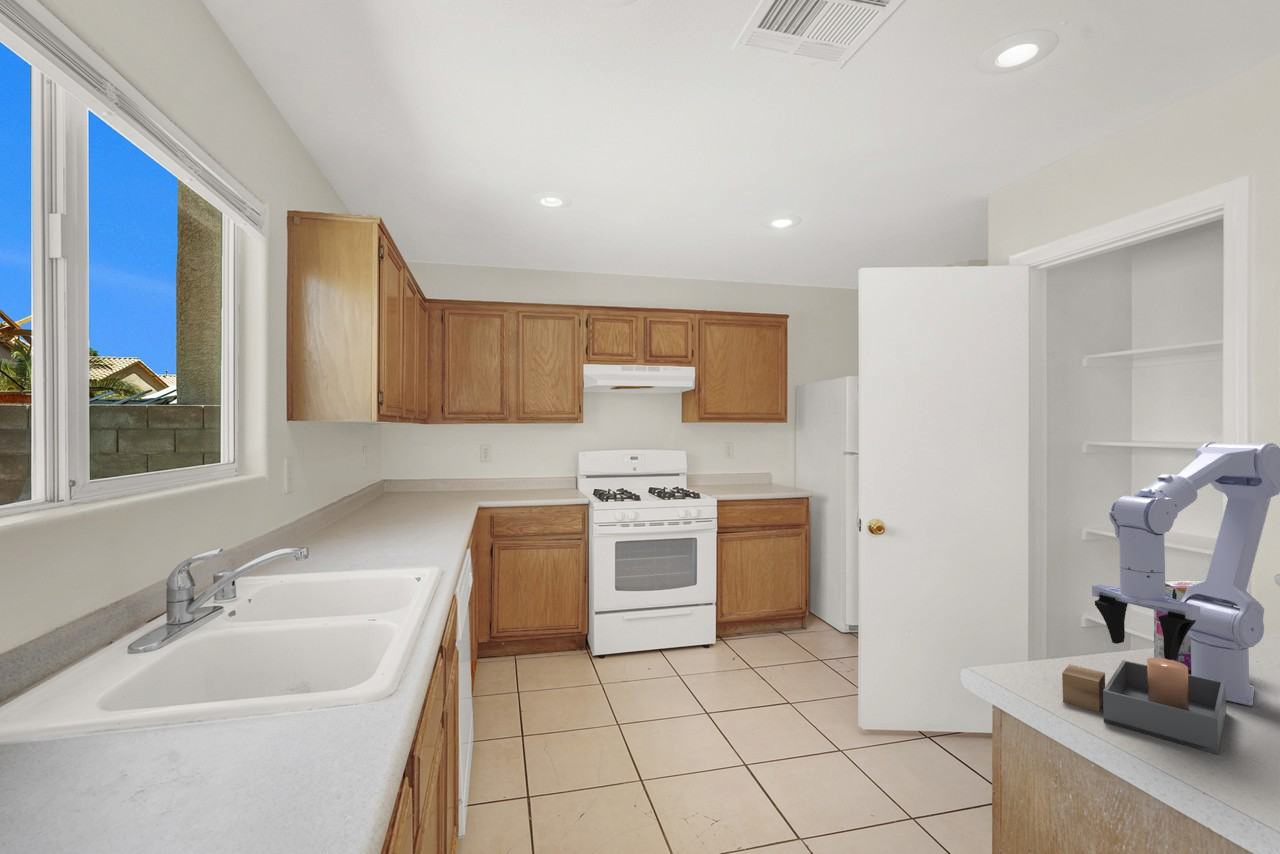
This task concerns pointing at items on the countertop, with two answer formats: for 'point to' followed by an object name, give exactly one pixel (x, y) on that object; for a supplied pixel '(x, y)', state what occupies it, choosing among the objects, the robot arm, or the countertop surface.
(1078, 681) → the walnut cube
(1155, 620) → the candy bar box
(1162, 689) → the terracotta cylinder
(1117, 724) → the box
